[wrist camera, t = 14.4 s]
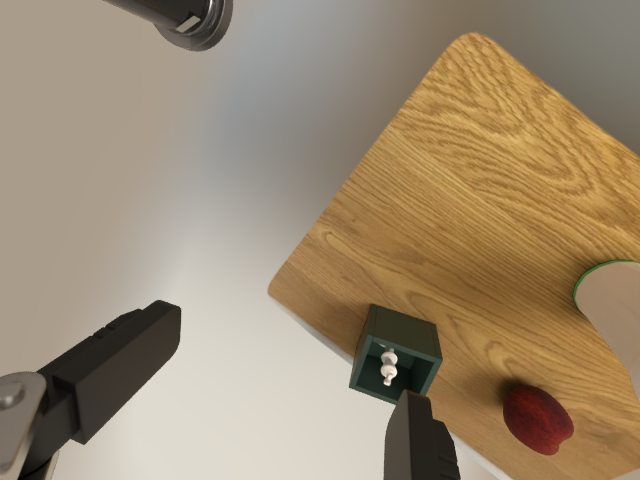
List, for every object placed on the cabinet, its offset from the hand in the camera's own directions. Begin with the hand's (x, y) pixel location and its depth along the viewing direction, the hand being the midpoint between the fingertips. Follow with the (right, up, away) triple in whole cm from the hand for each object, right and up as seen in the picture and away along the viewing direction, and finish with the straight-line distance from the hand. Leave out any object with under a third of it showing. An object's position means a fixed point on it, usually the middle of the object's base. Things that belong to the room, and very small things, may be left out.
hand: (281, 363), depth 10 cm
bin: (+13, -11, +36) cm, 39 cm away
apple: (+31, -19, +34) cm, 50 cm away
